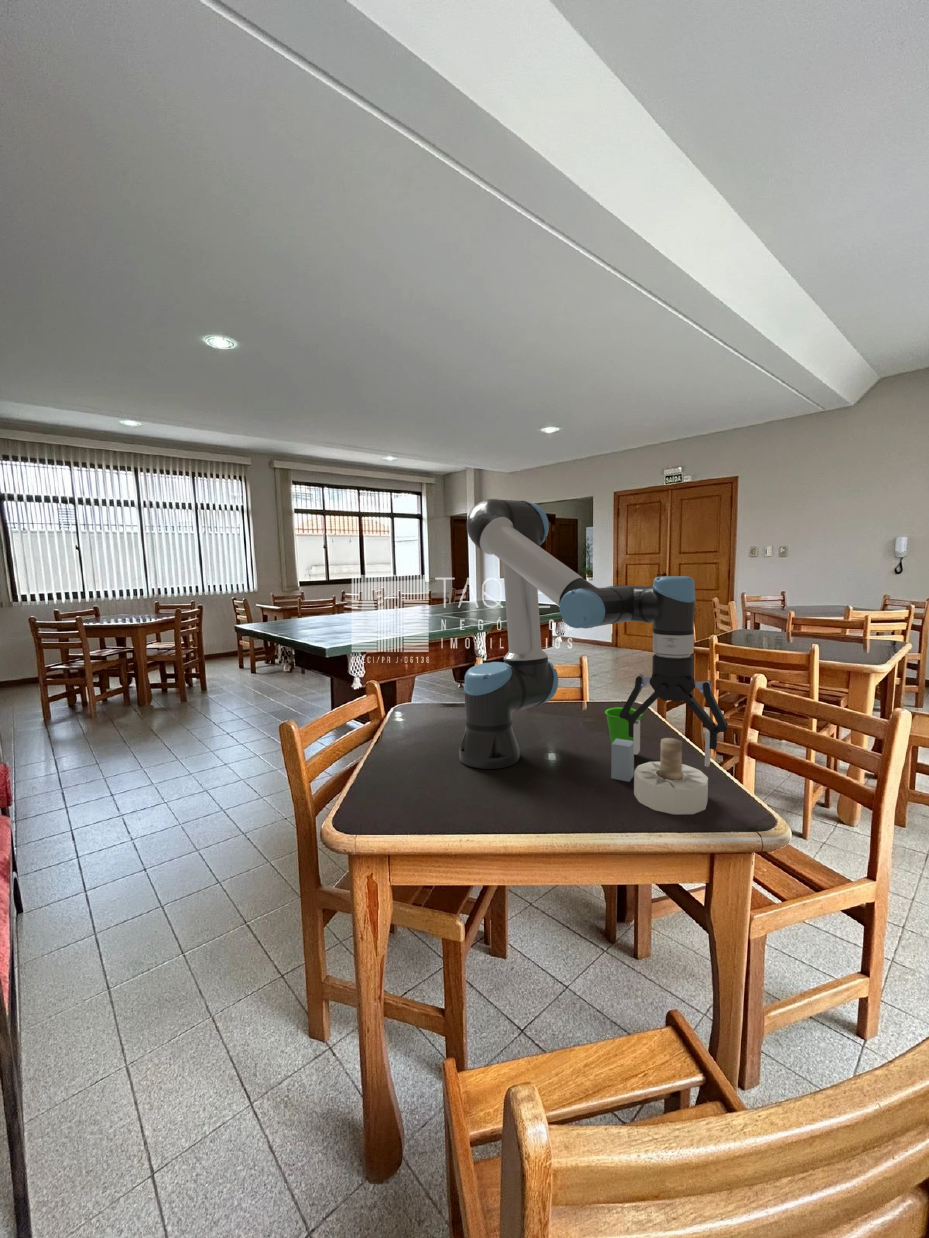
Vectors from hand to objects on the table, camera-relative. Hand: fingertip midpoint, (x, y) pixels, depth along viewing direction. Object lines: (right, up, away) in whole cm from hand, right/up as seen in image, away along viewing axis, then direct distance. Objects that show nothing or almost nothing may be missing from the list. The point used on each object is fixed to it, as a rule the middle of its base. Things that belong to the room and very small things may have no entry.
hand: (670, 758), depth 102 cm
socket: (0, -8, +1) cm, 8 cm away
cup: (-2, -6, +24) cm, 25 cm away
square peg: (-6, -7, +12) cm, 15 cm away
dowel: (0, -8, +1) cm, 8 cm away
